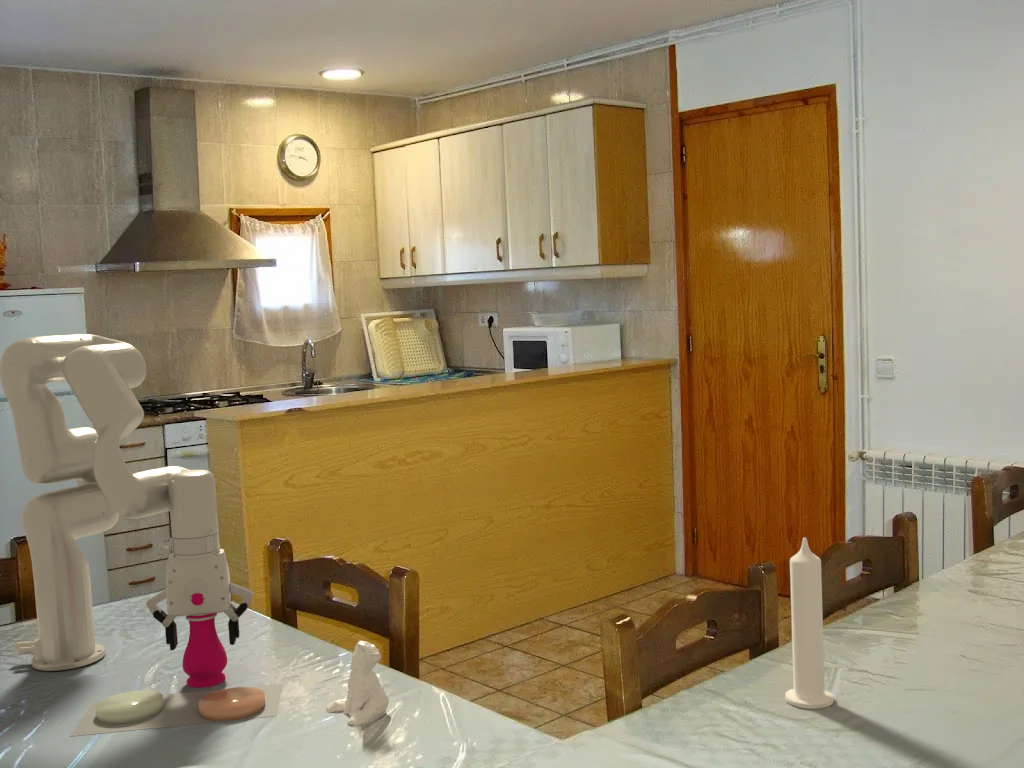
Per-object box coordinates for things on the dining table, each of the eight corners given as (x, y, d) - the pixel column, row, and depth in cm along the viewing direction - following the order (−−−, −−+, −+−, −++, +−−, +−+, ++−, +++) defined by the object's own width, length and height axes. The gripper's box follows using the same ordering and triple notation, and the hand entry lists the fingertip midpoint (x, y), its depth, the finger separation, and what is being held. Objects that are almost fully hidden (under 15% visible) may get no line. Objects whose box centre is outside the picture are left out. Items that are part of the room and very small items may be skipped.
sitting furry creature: (322, 717, 163) (317, 640, 162) (371, 702, 168) (366, 628, 167) (352, 735, 155) (347, 655, 154) (402, 719, 161) (398, 641, 160)
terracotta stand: (194, 724, 159) (193, 714, 159) (204, 699, 169) (203, 690, 169) (262, 717, 161) (261, 707, 160) (268, 693, 170) (267, 684, 170)
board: (70, 744, 157) (69, 736, 157) (94, 708, 171) (93, 701, 171) (276, 723, 161) (275, 715, 161) (283, 690, 175) (282, 683, 175)
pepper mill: (216, 696, 174) (207, 576, 172) (176, 695, 175) (167, 576, 174) (236, 680, 181) (228, 565, 179) (197, 679, 182) (189, 565, 181)
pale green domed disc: (88, 727, 160) (88, 717, 160) (104, 702, 170) (104, 693, 170) (157, 720, 161) (156, 710, 161) (169, 696, 171) (168, 687, 171)
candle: (834, 693, 162) (830, 532, 160) (832, 711, 155) (828, 543, 153) (787, 690, 164) (782, 531, 162) (783, 707, 158) (778, 542, 156)
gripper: (137, 554, 171) (145, 657, 173) (246, 545, 174) (254, 647, 175) (147, 544, 179) (154, 642, 180) (251, 535, 181) (258, 633, 182)
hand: (203, 645), depth 177 cm, fingers open, 9 cm apart
